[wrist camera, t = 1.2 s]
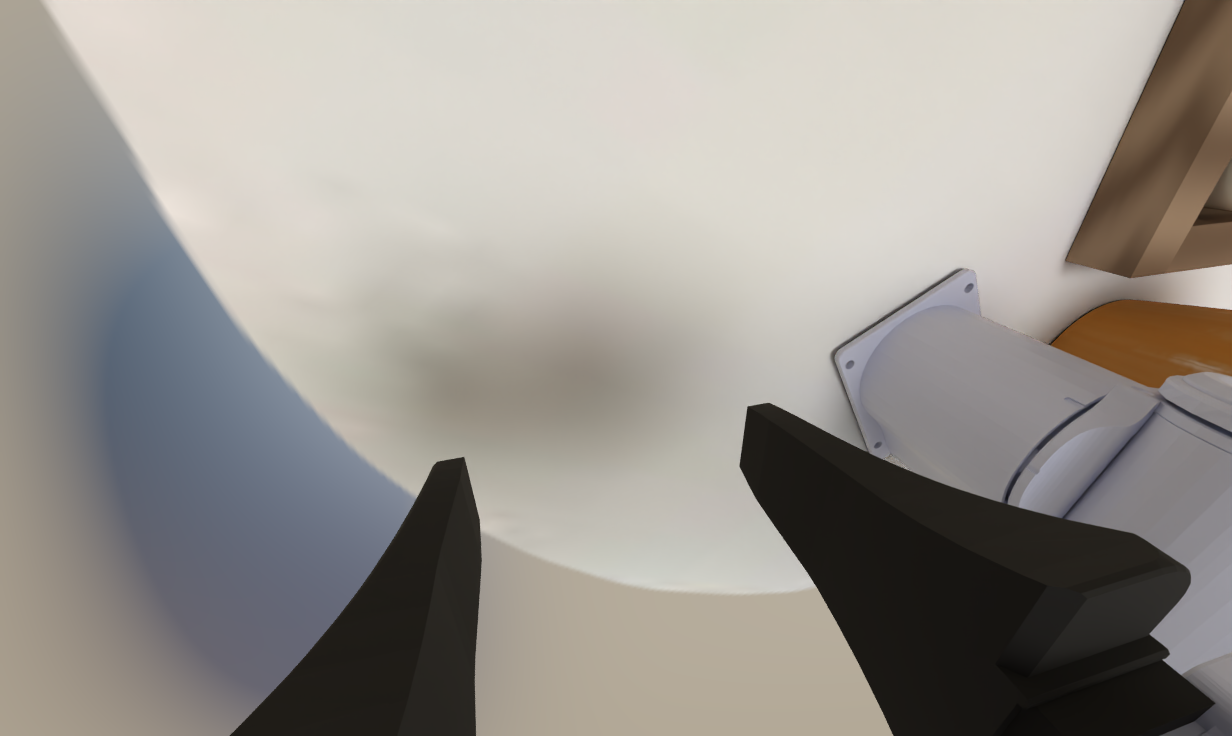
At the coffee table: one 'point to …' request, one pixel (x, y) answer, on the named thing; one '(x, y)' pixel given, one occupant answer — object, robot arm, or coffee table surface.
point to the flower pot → (1152, 340)
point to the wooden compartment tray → (1170, 160)
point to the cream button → (1222, 191)
